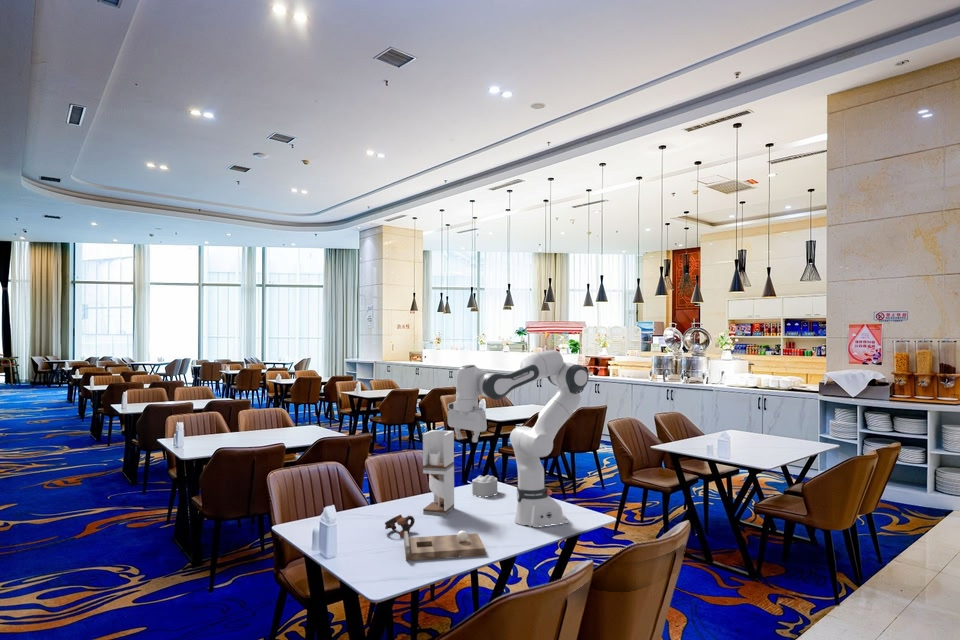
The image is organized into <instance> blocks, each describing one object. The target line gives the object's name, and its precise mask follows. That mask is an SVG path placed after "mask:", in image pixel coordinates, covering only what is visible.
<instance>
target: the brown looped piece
mask: <svg viewBox="0 0 960 640" xmlns="http://www.w3.org/2000/svg"><path fill="white" fill-rule="evenodd" d="M409 521H410V523H409ZM396 524H397V525H398V526H400V527H401V528H402V529H401V531H399V532H398V534H399V538H403V537H404V531H407V532H408V535H409V534H411V532H410V531H411V528H412V527H413V526H414V525H415V517H414V516H413V515H408V516H406V517H403V516H402V514H398V515H396V516H395V517H392V518H391V519H388V520H387V521H385V522H384V525H385V527H384V529H385V530H389V529H391V530H392V531H393V530H394V531H395V530H396V529H397V526H396Z"/></svg>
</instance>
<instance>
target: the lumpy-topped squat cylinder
mask: <svg viewBox="0 0 960 640" xmlns="http://www.w3.org/2000/svg"><path fill="white" fill-rule="evenodd" d="M471 482H472V485H471V486H472V487H471V493H472V494H473V495H472V496H474V495H478V496H481V497H485V496H491V495H494V494H496V493H497V494H498V478H497V477H495V476H494V475H489V474H487V475H485V476H483V475H478V476H477V477H476V478H474V479H473V478H472V481H471ZM478 496H477V497H478ZM494 496H495V495H494ZM481 497H480V498H481ZM491 497H492V496H491Z"/></svg>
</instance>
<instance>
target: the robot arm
mask: <svg viewBox="0 0 960 640" xmlns="http://www.w3.org/2000/svg"><path fill="white" fill-rule="evenodd" d="M545 378H547V380H548V381H549V382H550V384H551V385H554V386H556V387H558V388H557V389H558V390H557V391H556V392H555V394H554V396H552V398H551V399H550V400H549V401H548V402H547V403H546V404H545V405H544V406H543V407H542V408H541V410H540V411H539V412H538V414H537V417H538V418H537V420H536V422H535V424H534V426H532V427H530V426H525V425H522V426H517V427H515V428H513V429H512V431H511V432H510V435H509V442H510V444H511V446H512V449H513V453H514V457H515V461H516V468H517V487H516V500H517V505H516V513H515V516H514V522H515V523H516V524H517V525H518V524H519V525H521V526H525V525H529V526H528V527H531V526H533V527H532V528H534V527H539V526H545V525H551V524H560V523H566V522H568V523H569V518H568V517H567V516H566V515H565V514H563V513H564V512H563V509H562V506H561V504H559V502H557V501H556V500H555V499H554V498H552V497H551V495H552V494H553V491H552V490H551V489H549V488H548V487H546V486H545V468H544V466H543V464H542V462H541V459H540V458H544V457H548V456H549V455H550V454H551V453H552V451H553V448H554V439H555V438H556V435H557V434H558V432H559V431H560V429H561V428H562V427H563V425H564V424H565V423H566V422H567V421H568V419H569V418H570V417H571V416H572V415H573V414H574V413H575V411H576V409H577V408H578V406H579V404H580V403H581V395H580V394H581V393H582V392H583V391H584V389H585V387H586V386H587V385H588V382H589V371H588V370H587V369H586V368H585V367H584V366H583V365H580V364H575V363H572V362H565V361H564V358H563V355H562V354H561V353H560V352H559V351H558V350H556V349H549V350H548V349H547V350H544V351H539V352H535V353H533V354H531V355H528V356H526V357H525V358H523V359H522V360H521V362H520V368H519V369H517V370H515V371H512V372H510V373H507V374H504V373H503V374H502V373H490V372H487V371H484V370H483V369H481V368H479V367H477V365H475V364H467V365H462V366H460V367H459V368H457V370H456V376H455V390H456V396H455V401H453V402H450V403H447V409H448V411H447V425H448V426H449V427H450V428H454V430H453V431H454V432H455V433H454V434H455V435H456V440H463V434H462V433H461V430H466V431H467V430H468V431H472V432H473V437H471V442H472V443H478V441H479V436H480V435H481V434H480V433H481V432H482V433H483V432H486V431H487V428H488V425H487V416H486V412H485V410H484V408H483V407H479V396H480V397H481V396H482V397H486V398H490V399H492V400H495V401H496V400H502V399H503V398H505V397H506V396H508V394H509V393H510V392H511V391H513V390H514V389H517V388H520V387H522V386H524V385H526V384H528V383H531V382H536V381H540V380H543V379H545Z"/></svg>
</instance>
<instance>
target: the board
mask: <svg viewBox="0 0 960 640" xmlns="http://www.w3.org/2000/svg"><path fill="white" fill-rule="evenodd" d="M467 534H468V538H467V540H466V541H465V542H460V541H459V540H458V539H457V534H447V535H446V534H445V535H431V536H416V537H413V536H412V537H409V534H408V532H407V531H404V536H403V537H404V538H403V539H404V541H403V543H404V544H403V546H404V554H405V562H406V561H407V560H412V561H421V560H420V559H426V560H435V559H436V560H437V558H440V559H447V558H446V557H454V558H460V557H459V556H468V557H479V556H481V557H482V556H486V548H485V545H484V543H483V541H482V538H481V537H480V535H479V533H477V532H476V533H467ZM407 562H408V561H407Z"/></svg>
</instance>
